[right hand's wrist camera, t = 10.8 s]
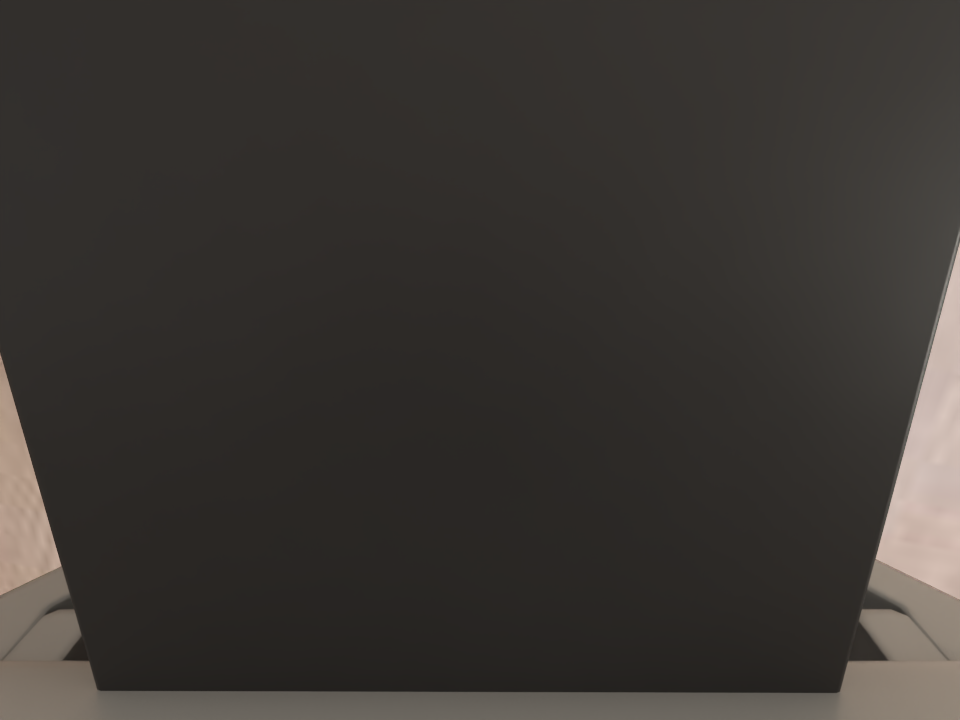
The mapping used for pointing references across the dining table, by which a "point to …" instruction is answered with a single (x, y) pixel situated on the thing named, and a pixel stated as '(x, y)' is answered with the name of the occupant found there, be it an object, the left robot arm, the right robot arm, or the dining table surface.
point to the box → (472, 331)
